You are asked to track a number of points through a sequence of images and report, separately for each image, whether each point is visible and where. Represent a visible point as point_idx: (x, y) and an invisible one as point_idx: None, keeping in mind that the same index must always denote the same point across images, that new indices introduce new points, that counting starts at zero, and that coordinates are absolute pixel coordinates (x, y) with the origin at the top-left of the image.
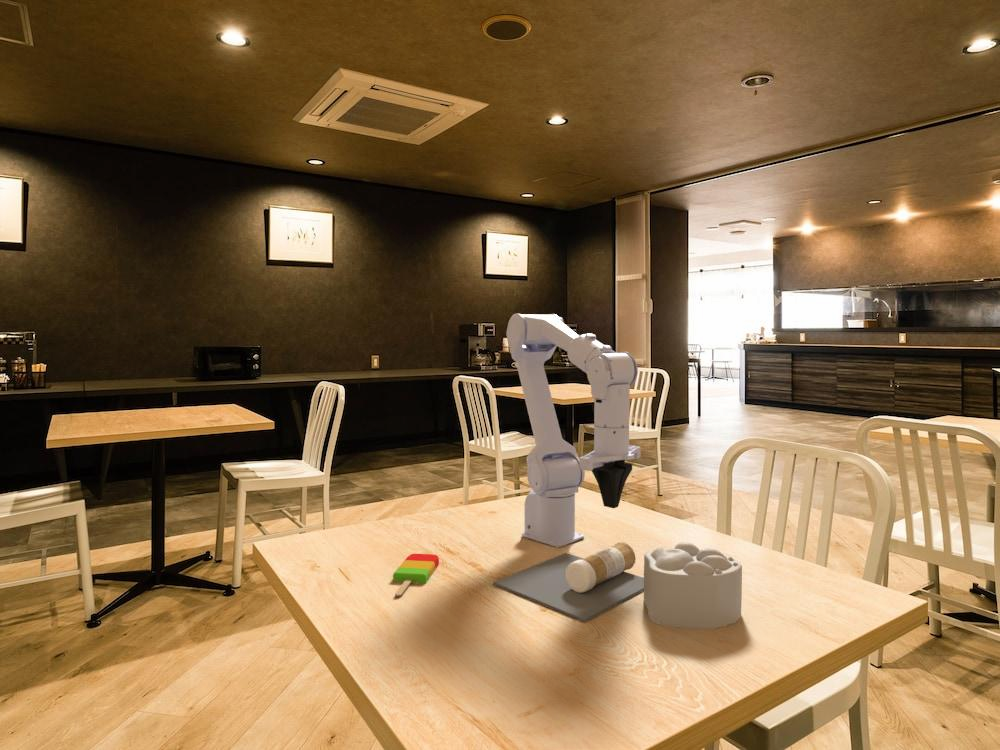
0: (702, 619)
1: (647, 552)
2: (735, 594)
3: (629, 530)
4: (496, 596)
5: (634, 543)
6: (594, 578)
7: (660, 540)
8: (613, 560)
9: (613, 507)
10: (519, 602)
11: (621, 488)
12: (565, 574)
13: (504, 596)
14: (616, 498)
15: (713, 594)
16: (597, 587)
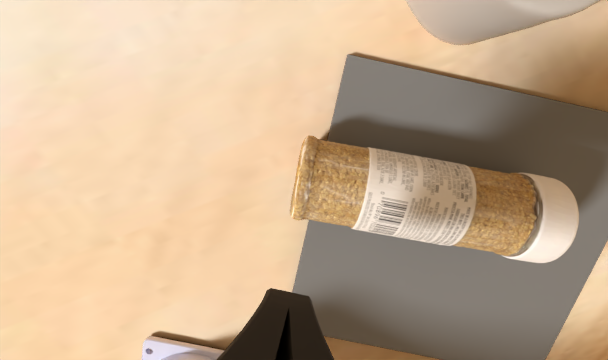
0: None
1: (559, 4)
2: None
3: (5, 264)
4: (588, 340)
5: (91, 216)
6: (538, 176)
7: (14, 162)
8: (427, 170)
9: (310, 300)
10: (601, 290)
11: (254, 355)
12: (420, 273)
13: (582, 328)
14: (306, 322)
15: None
16: None
